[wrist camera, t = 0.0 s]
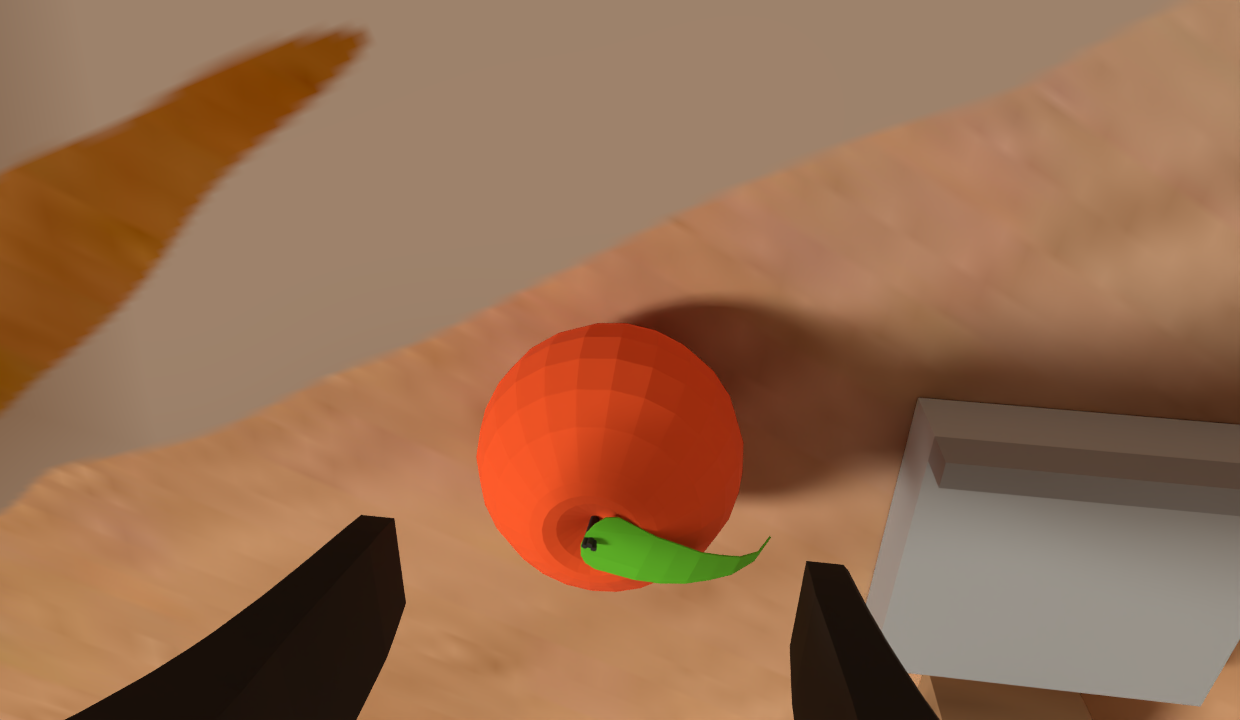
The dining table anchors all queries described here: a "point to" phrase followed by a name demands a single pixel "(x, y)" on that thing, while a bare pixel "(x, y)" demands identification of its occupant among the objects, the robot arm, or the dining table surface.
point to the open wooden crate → (999, 701)
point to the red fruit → (613, 460)
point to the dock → (1063, 550)
